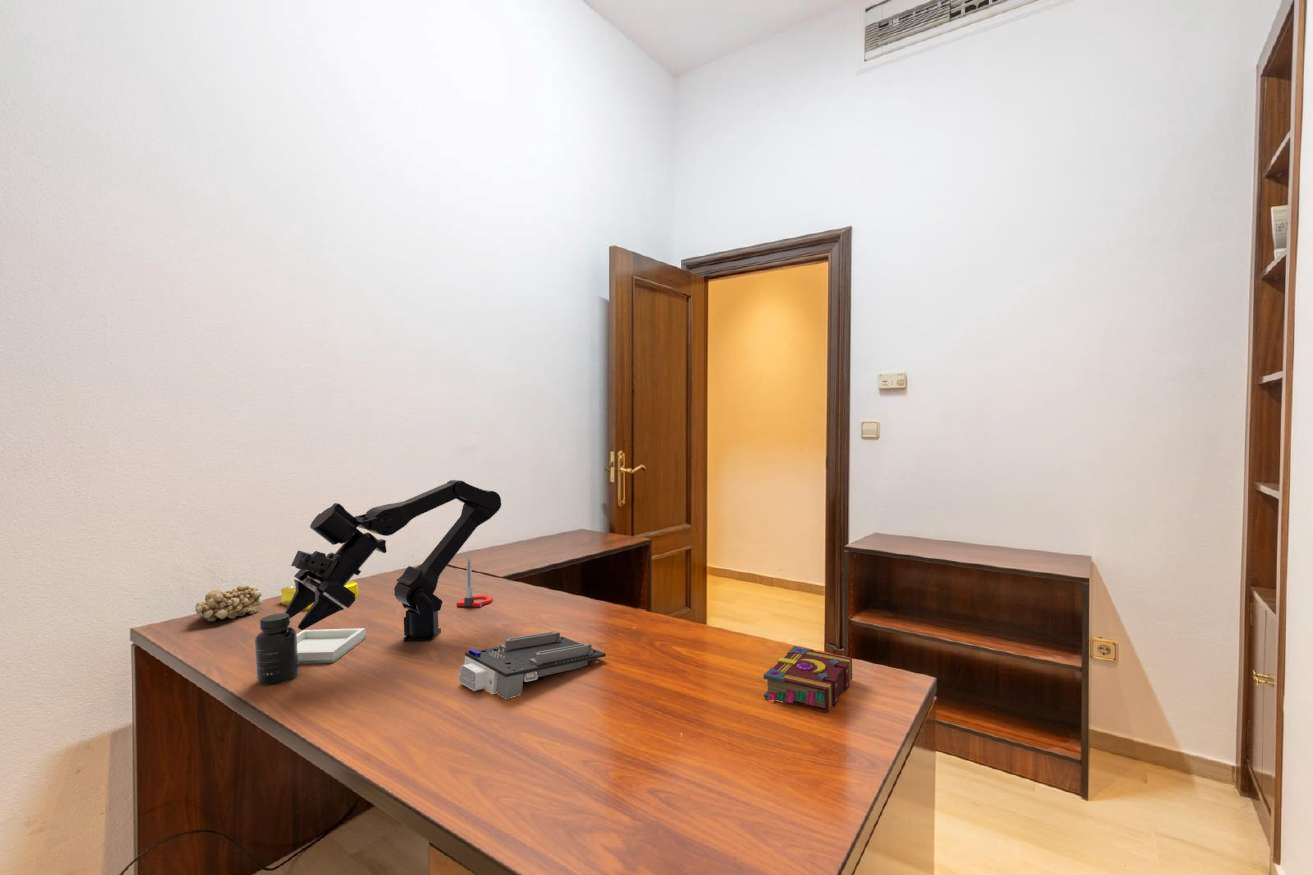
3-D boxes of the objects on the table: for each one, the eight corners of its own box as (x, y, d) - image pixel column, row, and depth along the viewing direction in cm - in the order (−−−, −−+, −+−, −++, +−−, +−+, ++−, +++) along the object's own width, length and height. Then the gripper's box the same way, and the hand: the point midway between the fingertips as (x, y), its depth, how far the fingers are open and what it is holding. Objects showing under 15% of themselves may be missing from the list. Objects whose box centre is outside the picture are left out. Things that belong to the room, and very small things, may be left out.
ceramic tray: (365, 637, 136) (365, 628, 136) (333, 662, 123) (333, 651, 122) (303, 639, 136) (303, 630, 136) (264, 664, 122) (264, 653, 122)
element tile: (361, 597, 170) (361, 581, 170) (307, 612, 158) (307, 594, 158) (331, 590, 178) (331, 574, 178) (278, 604, 166) (277, 587, 166)
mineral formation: (269, 609, 160) (227, 624, 145) (220, 618, 160) (174, 634, 145) (264, 579, 160) (222, 591, 145) (215, 588, 160) (168, 602, 145)
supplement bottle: (269, 672, 119) (266, 612, 118) (305, 670, 119) (303, 610, 119) (248, 687, 112) (246, 623, 111) (287, 685, 112) (284, 621, 112)
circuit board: (604, 679, 120) (560, 659, 130) (606, 644, 120) (562, 628, 130) (492, 706, 102) (452, 681, 112) (496, 666, 102) (455, 644, 113)
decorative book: (854, 681, 109) (853, 654, 109) (827, 719, 95) (826, 688, 95) (794, 668, 115) (793, 643, 115) (760, 703, 102) (760, 674, 101)
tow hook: (469, 599, 167) (452, 607, 158) (469, 552, 167) (452, 558, 158) (497, 599, 166) (482, 608, 157) (497, 553, 166) (482, 559, 157)
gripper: (304, 529, 127) (244, 592, 119) (336, 540, 114) (271, 611, 107) (344, 560, 133) (289, 622, 125) (379, 573, 120) (321, 643, 112)
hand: (292, 623), depth 117 cm, fingers open, 9 cm apart
